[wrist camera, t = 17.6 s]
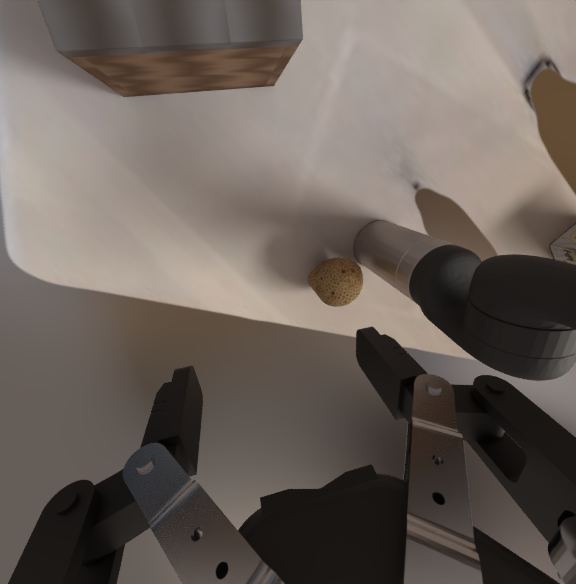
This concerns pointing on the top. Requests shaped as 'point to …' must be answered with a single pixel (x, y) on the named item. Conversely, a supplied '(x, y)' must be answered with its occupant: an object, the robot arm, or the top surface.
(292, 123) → the top surface
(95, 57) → the box
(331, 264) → the natural sponge
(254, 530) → the robot arm
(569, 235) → the coffee box
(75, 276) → the top surface
